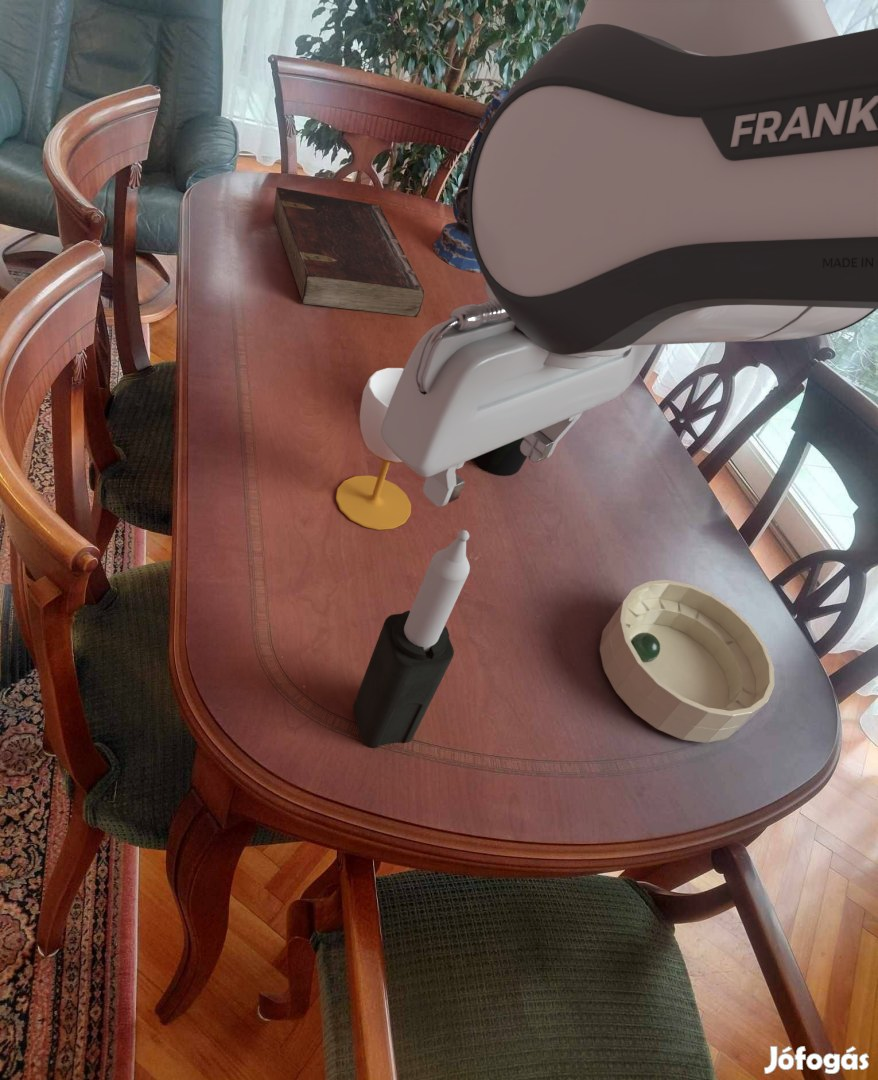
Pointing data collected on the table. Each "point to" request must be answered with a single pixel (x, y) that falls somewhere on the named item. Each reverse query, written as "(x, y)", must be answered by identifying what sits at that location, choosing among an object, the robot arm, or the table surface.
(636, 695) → the bowl
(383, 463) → the cup
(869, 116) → the robot arm
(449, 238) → the lantern
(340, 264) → the hardback book
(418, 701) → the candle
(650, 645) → the bead
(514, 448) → the cup
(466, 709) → the table surface
